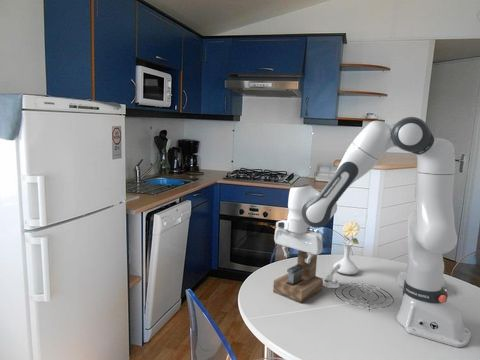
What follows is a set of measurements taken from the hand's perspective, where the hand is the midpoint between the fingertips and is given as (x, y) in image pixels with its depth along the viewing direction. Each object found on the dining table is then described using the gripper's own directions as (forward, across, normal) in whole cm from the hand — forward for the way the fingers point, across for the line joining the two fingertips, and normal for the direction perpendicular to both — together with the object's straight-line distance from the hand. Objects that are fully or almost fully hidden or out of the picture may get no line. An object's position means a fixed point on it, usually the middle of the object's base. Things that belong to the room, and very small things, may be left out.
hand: (296, 259), depth 144 cm
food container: (+16, -34, -47) cm, 60 cm away
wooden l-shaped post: (+14, 0, -3) cm, 14 cm away
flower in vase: (+15, -4, -36) cm, 39 cm away
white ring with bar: (+15, -5, -19) cm, 24 cm away
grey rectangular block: (+13, 0, 0) cm, 13 cm away
